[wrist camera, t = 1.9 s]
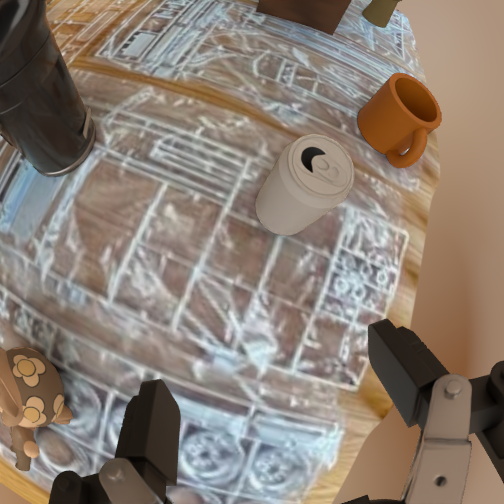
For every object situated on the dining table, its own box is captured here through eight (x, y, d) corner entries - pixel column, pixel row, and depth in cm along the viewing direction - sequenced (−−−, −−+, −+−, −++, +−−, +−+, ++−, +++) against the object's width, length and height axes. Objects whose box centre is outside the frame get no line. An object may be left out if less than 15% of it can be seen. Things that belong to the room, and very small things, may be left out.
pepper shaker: (386, 31, 46) (410, -2, 35) (361, 17, 45) (383, -17, 34) (386, 19, 47) (408, -11, 36) (362, 7, 46) (382, -26, 36)
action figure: (-22, 424, 19) (-10, 321, 22) (50, 439, 27) (72, 348, 30) (-12, 482, 13) (-8, 367, 15) (76, 492, 21) (101, 393, 23)
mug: (354, 162, 37) (391, 129, 28) (357, 98, 39) (386, 62, 31) (407, 184, 38) (448, 159, 29) (405, 120, 41) (437, 91, 32)
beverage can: (274, 173, 35) (308, 116, 23) (318, 205, 35) (370, 163, 23) (242, 214, 33) (267, 167, 21) (290, 248, 33) (337, 219, 22)
